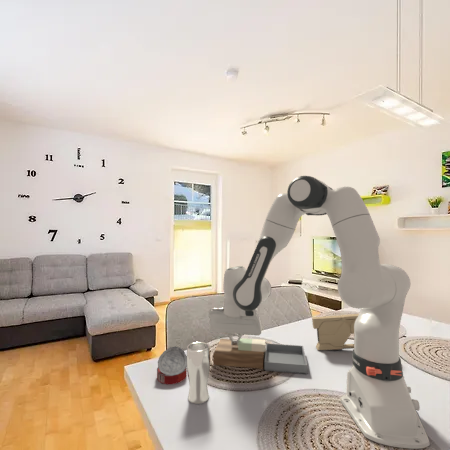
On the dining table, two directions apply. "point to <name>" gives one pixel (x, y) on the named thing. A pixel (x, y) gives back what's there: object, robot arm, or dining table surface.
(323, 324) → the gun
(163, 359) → the canned food
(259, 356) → the wooden block
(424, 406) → the dining table surface
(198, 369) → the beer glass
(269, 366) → the tray
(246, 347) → the tile
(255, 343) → the tile
